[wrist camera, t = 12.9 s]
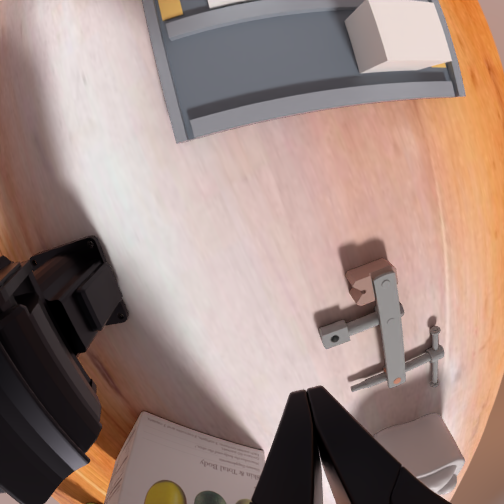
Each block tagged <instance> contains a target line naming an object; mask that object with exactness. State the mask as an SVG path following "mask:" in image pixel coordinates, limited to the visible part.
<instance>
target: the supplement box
mask: <svg viewBox="0 0 504 504" xmlns="http://www.w3.org/2000/svg"><path fill="white" fill-rule="evenodd" d="M264 465H265V457H264V451H262V450H258V449H254V448H250V447H246V446H243V445H239V444H236V443H232V442H229V441H225V440H222V439H219V438H216V437H213V436H210V435H207V434H204V433H201V432H198V431H195V430H192V429H189V428H186V427H184V426H181V425H178V424H175V423H173V422H170V421H168V420H165V419H163V418H160V417H158V416H155V415H153V414H150V413H148V412H145V411H143V412H141V414H140V416H139V417H138V419H137V421H136V423H135V425H134V427H133V428H132V430H131V432H130V434H129V436H128V438H127V440H126V441H125V443H124V445H123V447H122V449H121V451H120V453H119V455H118V457H117V459H116V461H115V465H114V470H113V473H112V477H111V480H110V484H109V487H108V491H107V494H106V498H105V502H104V504H249V503H250V502H252V501H251V498H252V496H253V493H254V491H255V488H256V486H257V483H258V481H259V478H260V475H261V473H262V470H263V468H264Z"/></svg>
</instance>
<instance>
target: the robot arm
mask: <svg viewBox="0 0 504 504" xmlns="http://www.w3.org/2000/svg"><path fill="white" fill-rule="evenodd" d="M89 241H91V242H92V243H93V245H94V246H91V245H90V243H89ZM35 261H36V262H37V264H36V263H35ZM32 270H33V272H32ZM119 313H121V314H123V316H121V315H120V314H119ZM128 316H129V313H128V311H127V309H126V306H125V304H124V302H123V300H122V294H121V291H120V289H119V287H118V284H117V282H116V279H115V277H114V275H113V272H112V270H111V267H110V265H109V264H108V263H107V262H106V259H105V256H104V254H103V251H102V249H101V246H100V243H99V241H98V239H97V238H96V237H95V236H88V237H85V238H82V239H79V240H76V241H73V242H70V243H67V244H64V245H61V246H58V247H55V248H52V249H49V250H47V251H44V252H41V253H38V254H35V255H34V256H32V257H31V258H30V260H27V261H24V262H21V263H20V262H16V263H14V262H11V261H10V260H9V259H7V258H6V257H5V256H1V257H0V493H7V494H9V495H10V496H11V497H12V498H14V499H15V500H16V501H17V502H19V503H20V504H44V503H45V502H46V501H47V500H48V499H49V497H50V496H51V495H52V493H53V492H54V491H55V489H56V488H57V487H58V486H59V484H60V483H61V482H62V481H63V480H64V479H65V478H66V477H68V476H69V475H70V474H71V473H73V472H74V471H75V470H77V469H79V468H81V467H83V466H85V465H87V464H88V463H89V462H90V459H89V458H88V457H87V456H86V454H85V453H86V452H87V451H88V450H89V448H90V447H91V446H92V444H93V443H94V442H95V441H96V439H97V437H98V435H99V433H100V431H101V429H102V424H101V423H100V422H99V421H100V414H101V405H100V402H99V399H98V396H97V395H96V385H95V383H94V382H93V380H92V379H90V378H89V377H88V375H87V374H86V372H85V371H84V369H83V367H82V366H81V364H80V362H79V361H78V359H77V357H78V355H79V354H80V353H84V352H86V350H87V349H88V347H89V346H90V344H91V342H92V341H93V339H94V338H95V336H96V334H97V333H98V331H101V330H102V329H103V327H104V326H105V325H111V324H116V323H122V322H125V321H126V320H127V318H128ZM319 454H320V455H319ZM320 458H321V461H320ZM321 462H322V465H323V468H324V471H325V474H326V477H327V479H328V482H329V485H330V487H331V490H332V493H333V496H334V498H335V501H336V504H451V503H450V502H448V501H447V500H445V499H443V498H442V497H441V496H439V495H438V494H436V493H435V492H434V491H432V490H431V489H429V488H428V487H427V486H426V485H424V484H423V483H422V482H421V481H420V480H419V479H417V478H416V477H415V476H414V475H413V474H412V473H411V472H410V471H409V470H408V469H406V468H405V467H404V466H402V464H401V463H400V462H399V461H398V460H397V459H396V458H395V457H394V456H393V455H391V454H390V453H389V452H388V451H387V450H386V449H385V448H384V447H383V446H382V445H381V444H380V443H379V442H378V441H377V440H376V439H375V438H374V437H373V436H372V435H371V434H370V433H369V432H368V431H367V430H366V429H365V428H364V427H363V426H362V425H361V424H360V423H359V422H358V421H357V420H356V419H355V418H354V417H353V416H352V415H351V414H350V413H349V412H348V411H347V410H346V409H345V408H344V407H343V406H342V405H341V404H340V403H339V402H338V401H337V400H336V399H335V398H334V397H333V396H332V395H331V394H330V393H329V392H328V391H327V390H326V389H325V388H324V387H323V386H316V387H312V388H308V389H307V392H306V390H299V391H295V392H291V393H290V395H289V397H288V400H287V403H286V406H285V409H284V412H283V415H282V418H281V421H280V424H279V427H278V429H277V432H276V435H275V438H274V441H273V443H272V446H271V449H270V452H269V454H268V457H267V460H266V462H265V465H264V468H263V470H262V473H261V475H260V478H259V481H258V483H257V486H256V488H255V491H254V493H253V496H252V498H251V501H252V502H250V503H249V504H323V491H322V470H321Z"/></svg>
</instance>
